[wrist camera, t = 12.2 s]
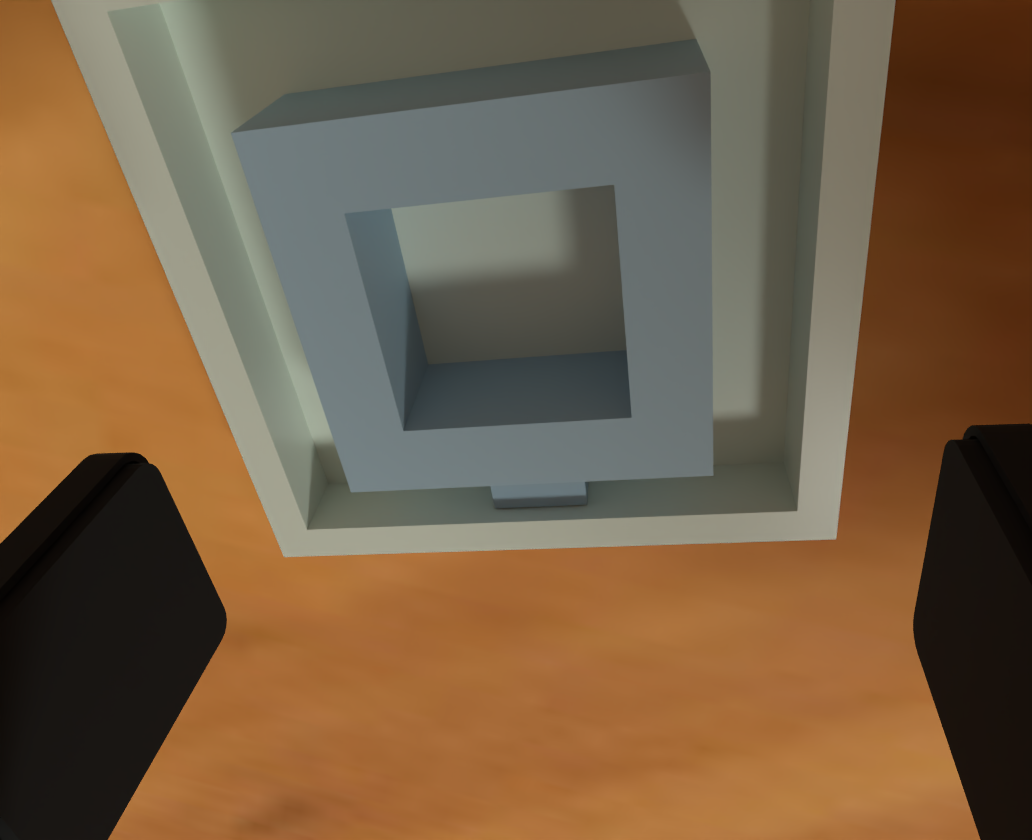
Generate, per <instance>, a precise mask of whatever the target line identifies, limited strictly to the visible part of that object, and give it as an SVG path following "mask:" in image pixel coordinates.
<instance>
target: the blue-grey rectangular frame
mask: <svg viewBox="0 0 1032 840" xmlns="http://www.w3.org/2000/svg"><path fill="white" fill-rule="evenodd" d="M231 135H232V138H233V141H234V144H235V147H236V150H237V153H238V156H239V159H240V162H241V165H242V168H243V171H244V174H245V177H246V180H247V183H248V186H249V189H250V192H251V195H252V198H253V201H254V204H255V207H256V210H257V213H258V216H259V219H260V222H261V225H262V228H263V231H264V234H265V237H266V240H267V243H268V246H269V249H270V252H271V255H272V258H273V261H274V264H275V267H276V270H277V273H278V276H279V279H280V282H281V285H282V288H283V291H284V294H285V297H286V300H287V303H288V306H289V309H290V312H291V315H292V318H293V321H294V324H295V327H296V330H297V333H298V335H299V338H300V341H301V344H302V347H303V350H304V353H305V356H306V359H307V362H308V365H309V368H310V371H311V374H312V377H313V380H314V383H315V386H316V389H317V392H318V395H319V398H320V401H321V404H322V407H323V410H324V413H325V416H326V419H327V422H328V425H329V428H330V431H331V434H332V437H333V440H334V443H335V446H336V449H337V452H338V455H339V458H340V461H341V464H342V467H343V470H344V473H345V476H346V479H347V482H348V485H349V488H350V491H351V492H373V491H395V490H416V489H438V488H459V487H481V486H490V487H491V492H492V497H493V501H494V506H495V508H517V507H541V506H565V505H587V502H588V482H589V481H611V480H632V479H654V478H675V477H697V476H713V347H712V201H711V71H710V69H709V67H708V65H707V62H706V60H705V58H704V55H703V53H702V51H701V48H700V46H699V44H698V42H697V39H691V40H683V41H676V42H669V43H661V44H654V45H646V46H639V47H631V48H624V49H617V50H609V51H602V52H594V53H587V54H579V55H572V56H564V57H557V58H550V59H542V60H535V61H527V62H520V63H512V64H505V65H498V66H490V67H483V68H475V69H468V70H460V71H453V72H445V73H438V74H431V75H423V76H416V77H408V78H401V79H393V80H386V81H379V82H371V83H364V84H356V85H349V86H341V87H334V88H326V89H319V90H312V91H304V92H297V93H289V94H284V95H283V96H281V97H280V98H279V99H277V100H276V101H274V102H273V103H272V104H270V105H269V106H268V107H266V108H265V109H263V110H262V111H261V112H259V113H258V114H256V115H255V116H254V117H252V118H251V119H249V120H248V121H247V122H245V123H244V124H242V125H241V126H240V127H238V128H237V129H235V130H234V131H233V132H231ZM606 185H614V189H615V202H616V216H617V229H618V242H619V255H620V269H621V282H622V295H623V308H624V321H625V335H626V348H627V350H620V351H606V352H593V353H579V354H565V355H552V356H538V357H524V358H510V359H497V360H483V361H469V362H455V363H442V364H428V362H427V357H426V353H425V349H424V345H423V341H422V336H421V332H420V328H419V324H418V320H417V315H416V311H415V307H414V303H413V298H412V294H411V290H410V286H409V282H408V277H407V273H406V269H405V265H404V261H403V256H402V252H401V248H400V244H399V240H398V235H397V231H396V227H395V223H394V218H393V214H392V210H391V208H400V207H410V206H419V205H428V204H438V203H447V202H456V201H466V200H475V199H484V198H494V197H503V196H513V195H522V194H531V193H541V192H550V191H559V190H569V189H578V188H587V187H597V186H606Z"/></svg>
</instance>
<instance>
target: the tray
mask: <svg viewBox="0 0 1032 840" xmlns="http://www.w3.org/2000/svg"><path fill="white" fill-rule="evenodd" d="M51 1H52V3H53V6H54V8H55V11H56V13H57V15H58V18H59V20H60V23H61V25H62V27H63V30H64V32H65V35H66V37H67V39H68V42H69V44H70V46H71V49H72V51H73V54H74V56H75V58H76V61H77V63H78V66H79V68H80V70H81V73H82V75H83V78H84V80H85V82H86V85H87V87H88V90H89V92H90V94H91V97H92V99H93V101H94V104H95V106H96V109H97V111H98V113H99V116H100V118H101V121H102V123H103V125H104V128H105V130H106V133H107V135H108V137H109V140H110V142H111V144H112V147H113V149H114V152H115V154H116V156H117V159H118V161H119V164H120V166H121V168H122V171H123V173H124V176H125V178H126V180H127V183H128V185H129V188H130V190H131V192H132V195H133V197H134V199H135V202H136V204H137V207H138V209H139V211H140V214H141V216H142V219H143V221H144V223H145V226H146V228H147V231H148V233H149V235H150V238H151V240H152V243H153V245H154V247H155V250H156V252H157V254H158V257H159V259H160V262H161V264H162V266H163V269H164V271H165V274H166V276H167V278H168V281H169V283H170V286H171V288H172V290H173V293H174V295H175V297H176V300H177V302H178V305H179V307H180V309H181V312H182V314H183V317H184V319H185V321H186V324H187V326H188V329H189V331H190V333H191V336H192V338H193V341H194V343H195V345H196V348H197V350H198V352H199V355H200V357H201V360H202V362H203V364H204V367H205V369H206V372H207V374H208V376H209V379H210V381H211V384H212V386H213V388H214V391H215V393H216V395H217V398H218V400H219V403H220V405H221V407H222V410H223V412H224V415H225V417H226V419H227V422H228V424H229V427H230V429H231V431H232V434H233V436H234V439H235V441H236V443H237V446H238V448H239V450H240V453H241V455H242V458H243V460H244V462H245V465H246V467H247V470H248V472H249V474H250V477H251V479H252V482H253V484H254V486H255V489H256V491H257V494H258V496H259V498H260V501H261V503H262V505H263V508H264V510H265V513H266V515H267V517H268V520H269V522H270V525H271V527H272V529H273V532H274V534H275V537H276V539H277V541H278V544H279V546H280V548H281V551H282V553H283V556H284V557H299V556H330V555H362V554H393V553H424V552H456V551H487V550H518V549H550V548H581V547H612V546H643V545H675V544H706V543H737V542H769V541H800V540H831V539H836V536H837V527H838V518H839V509H840V500H841V491H842V482H843V473H844V464H845V454H846V445H847V436H848V427H849V418H850V409H851V400H852V391H853V382H854V373H855V364H856V355H857V346H858V337H859V328H860V318H861V309H862V300H863V291H864V282H865V273H866V264H867V255H868V246H869V237H870V228H871V219H872V210H873V201H874V191H875V182H876V173H877V164H878V155H879V146H880V137H881V128H882V119H883V110H884V101H885V92H886V83H887V74H888V65H889V55H890V46H891V37H892V28H893V19H894V10H895V1H896V0H51ZM691 39H697V42H698V44H699V46H700V48H701V51H702V53H703V55H704V58H705V60H706V62H707V65H708V67H709V69H710V71H711V201H712V347H713V476H697V477H675V478H654V479H632V480H611V481H589V482H588V502H587V505H565V506H541V507H517V508H495V506H494V501H493V497H492V492H491V487H490V486H481V487H459V488H438V489H416V490H395V491H373V492H351V491H350V488H349V485H348V482H347V479H346V476H345V473H344V470H343V467H342V464H341V461H340V458H339V455H338V452H337V449H336V446H335V443H334V440H333V437H332V434H331V431H330V428H329V425H328V422H327V419H326V416H325V413H324V410H323V407H322V404H321V401H320V398H319V395H318V392H317V389H316V386H315V383H314V380H313V377H312V374H311V371H310V368H309V365H308V362H307V359H306V356H305V353H304V350H303V347H302V344H301V341H300V338H299V335H298V333H297V330H296V327H295V324H294V321H293V318H292V315H291V312H290V309H289V306H288V303H287V300H286V297H285V294H284V291H283V288H282V285H281V282H280V279H279V276H278V273H277V270H276V267H275V264H274V261H273V258H272V255H271V252H270V249H269V246H268V243H267V240H266V237H265V234H264V231H263V228H262V225H261V222H260V219H259V216H258V213H257V210H256V207H255V204H254V201H253V198H252V195H251V192H250V189H249V186H248V183H247V180H246V177H245V174H244V171H243V168H242V165H241V162H240V159H239V156H238V153H237V150H236V147H235V144H234V141H233V138H232V135H231V132H233V131H234V130H235V129H237V128H238V127H240V126H241V125H242V124H244V123H245V122H247V121H248V120H249V119H251V118H252V117H254V116H255V115H256V114H258V113H259V112H261V111H262V110H263V109H265V108H266V107H268V106H269V105H270V104H272V103H273V102H274V101H276V100H277V99H279V98H280V97H281V96H283V95H284V94H289V93H297V92H304V91H312V90H319V89H326V88H334V87H341V86H349V85H356V84H364V83H371V82H379V81H386V80H393V79H401V78H408V77H416V76H423V75H431V74H438V73H445V72H453V71H460V70H468V69H475V68H483V67H490V66H498V65H505V64H512V63H520V62H527V61H535V60H542V59H550V58H557V57H564V56H572V55H579V54H587V53H594V52H602V51H609V50H617V49H624V48H631V47H639V46H646V45H654V44H661V43H669V42H676V41H683V40H691ZM391 210H392V214H393V218H394V223H395V227H396V231H397V235H398V240H399V244H400V248H401V252H402V256H403V261H404V265H405V269H406V273H407V277H408V282H409V286H410V290H411V294H412V298H413V303H414V307H415V311H416V315H417V320H418V324H419V328H420V332H421V336H422V341H423V345H424V349H425V353H426V357H427V362H428V364H442V363H455V362H469V361H483V360H497V359H510V358H524V357H538V356H552V355H565V354H579V353H593V352H606V351H620V350H627V348H626V335H625V321H624V308H623V295H622V282H621V269H620V255H619V242H618V229H617V216H616V202H615V189H614V185H606V186H597V187H587V188H578V189H569V190H559V191H550V192H541V193H531V194H522V195H513V196H503V197H494V198H484V199H475V200H466V201H456V202H447V203H438V204H428V205H419V206H410V207H400V208H391Z"/></svg>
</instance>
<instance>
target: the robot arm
mask: <svg viewBox="0 0 1032 840" xmlns="http://www.w3.org/2000/svg"><path fill="white" fill-rule="evenodd" d="M226 622H227V618H226V612H225V609H224V606H223V604H222V602H221V600H220V598H219V596H218V594H217V592H216V589H215V587H214V585H213V583H212V581H211V579H210V577H209V575H208V572H207V570H206V568H205V566H204V564H203V562H202V560H201V558H200V555H199V553H198V551H197V549H196V547H195V545H194V543H193V541H192V539H191V536H190V534H189V532H188V530H187V528H186V526H185V524H184V522H183V519H182V517H181V515H180V513H179V511H178V509H177V507H176V505H175V503H174V500H173V498H172V496H171V494H170V492H169V490H168V488H167V486H166V483H165V481H164V479H163V477H162V475H161V473H160V471H159V470H158V468H157V467H156V466H154V465H153V464H149V463H148V461H147V460H146V458H144V457H143V456H142V455H141V454H137V453H102V454H93V455H89V456H88V457H87V458H85V459H84V460H83V461H82V462H81V463H80V464H79V465H78V466H77V467H76V468H75V469H74V470H73V471H72V472H71V473H70V474H69V475H68V476H67V477H66V478H65V479H64V480H63V481H62V482H61V483H60V484H59V485H58V486H57V487H56V488H55V489H54V490H53V491H52V492H51V493H50V494H49V495H48V496H47V497H46V498H45V499H44V500H43V501H42V502H41V503H40V504H39V505H38V506H37V507H36V508H35V509H34V510H33V511H32V512H31V513H30V514H29V515H28V516H27V517H26V518H25V519H24V520H23V521H22V522H21V523H20V524H19V525H18V527H17V528H16V529H15V530H14V531H13V532H12V533H11V534H10V535H9V536H8V537H7V538H6V539H5V540H4V541H3V542H2V543H1V544H0V840H108V838H109V836H110V835H111V833H112V831H113V829H114V828H115V826H116V824H117V822H118V821H119V819H120V817H121V815H122V814H123V812H124V810H125V808H126V807H127V805H128V803H129V801H130V800H131V798H132V796H133V794H134V793H135V791H136V789H137V787H138V786H139V784H140V782H141V780H142V779H143V777H144V775H145V773H146V772H147V770H148V768H149V766H150V765H151V763H152V761H153V759H154V758H155V756H156V754H157V752H158V751H159V749H160V747H161V745H162V744H163V742H164V740H165V738H166V737H167V735H168V733H169V731H170V730H171V728H172V726H173V724H174V723H175V721H176V719H177V717H178V716H179V714H180V712H181V710H182V709H183V707H184V705H185V703H186V702H187V700H188V698H189V696H190V694H191V693H192V691H193V689H194V687H195V686H196V684H197V682H198V680H199V679H200V677H201V675H202V673H203V672H204V670H205V668H206V666H207V665H208V663H209V661H210V659H211V658H212V656H213V654H214V652H215V651H216V649H217V647H218V645H219V644H220V642H221V640H222V638H223V636H224V634H225V629H226ZM913 631H914V640H915V645H916V649H917V653H918V656H919V659H920V661H921V664H922V667H923V670H924V673H925V676H926V679H927V682H928V685H929V688H930V691H931V694H932V697H933V700H934V703H935V706H936V709H937V712H938V715H939V718H940V721H941V724H942V727H943V730H944V733H945V735H946V738H947V741H948V744H949V747H950V750H951V753H952V756H953V759H954V762H955V765H956V768H957V771H958V774H959V777H960V780H961V783H962V786H963V789H964V792H965V795H966V798H967V801H968V804H969V807H970V810H971V812H972V815H973V818H974V821H975V824H976V827H977V830H978V833H979V836H980V839H981V840H1032V425H1031V424H1003V425H972V426H970V427H969V428H967V430H966V432H965V433H964V436H963V440H950V441H948V442H947V444H946V446H945V449H944V453H943V459H942V464H941V470H940V475H939V481H938V486H937V492H936V497H935V503H934V508H933V514H932V519H931V525H930V530H929V536H928V541H927V547H926V552H925V558H924V563H923V568H922V574H921V579H920V585H919V590H918V596H917V601H916V607H915V612H914V620H913Z"/></svg>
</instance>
